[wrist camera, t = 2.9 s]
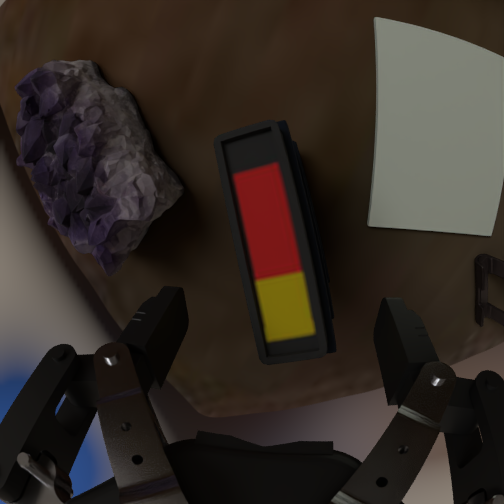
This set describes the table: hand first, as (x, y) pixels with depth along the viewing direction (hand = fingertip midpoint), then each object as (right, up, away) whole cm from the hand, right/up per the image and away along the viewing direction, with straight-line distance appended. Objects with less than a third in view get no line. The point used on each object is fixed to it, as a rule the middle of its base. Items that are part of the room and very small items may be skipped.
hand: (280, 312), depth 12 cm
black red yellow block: (+2, +7, +13) cm, 15 cm away
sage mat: (+16, +13, +8) cm, 22 cm away
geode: (-15, +12, +13) cm, 23 cm away
